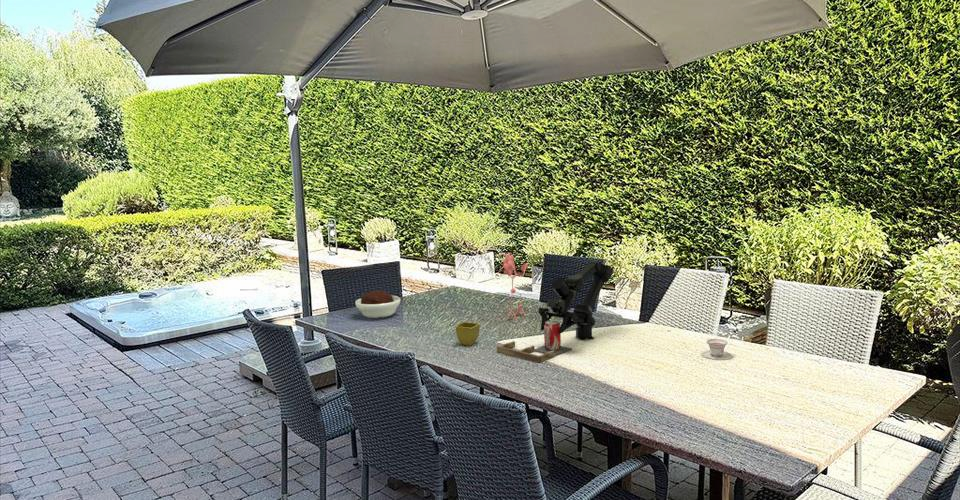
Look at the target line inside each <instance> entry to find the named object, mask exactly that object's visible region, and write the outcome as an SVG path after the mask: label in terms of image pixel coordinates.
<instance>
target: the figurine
mask: <svg viewBox="0 0 960 500" xmlns="http://www.w3.org/2000/svg"><path fill="white" fill-rule="evenodd" d="M502 264H503V266H502V267H501V268H500V270H499V271H498V272H497V273H496V274H495V275H496V276H498V275H499V273H500V272H501V271H502V269H504V271H503V274H504V275H507V277H510V279H511V289H510V292H511V296H513V294H516V293H517V294H519V306H518V307H517V309H516V312H515V313H516V315H519V314H520V312H522V315H523V316H524V317H526V313H524V310H523V305H522V303H521V301H522V299H521V298H522V294H521V292H518V291H517V290H516V288H514V279H515V278H516V277H517V276H519V277H524V275H525V272H526V270H527V269H528V267H529V263H528V262H526V263H525V262H524V264H523V265H521V267H520V268H521V271H522V272H523V274H518V273H517V271H516V265H515V260H514V254H510V252H508V253H505V257H504V258H503V259H502ZM513 272H514V275H513ZM512 275H513V276H512ZM510 305H511V306H510V312H509V314H508V315H507V316H506V317H507V318H506V320H508V319H509V318H510V316H511V313H512V315H513V317H514V319H515V321H517V320H518V319H517V317H516V315H515V313H514V311H513V310H514V308H513V299H511V304H510ZM530 314H531V315H532V312H530ZM501 315H504V313H503V314H500V315H498V317H500V316H501ZM494 319H495V320H496V321H497V319H496V318H494Z"/></svg>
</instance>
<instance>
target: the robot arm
mask: <svg viewBox="0 0 960 500" xmlns="http://www.w3.org/2000/svg"><path fill="white" fill-rule="evenodd" d="M613 274H614V269H613V268H612V266H611V265H607V264H603V263H602V262H599V261H593V260H591V261H589V262H588V264H587V265H586V266H584V267H583V268H582V269H580V271H579V272H578V273H577V274H574V275H569V276H568V277H566V279H565V278H564V277H563V276H558V278H557V279H554V280H553V281H552V282H551V288H552V289H553V291H554V292H555V293H556V295H557V296H559V298H558V299H550V298H548V299H547V303H546V307H543V306H542V307H539V308H538V310H537V313H538V314H539V315H540V317H541V323H540V324H541V325H540V331H542V332H544V325H545V322H546V321H550V320H552V318H553V317H554V318H559V319H562V322H561V324H560V328H559V331H558V334H561V335H562V333H563V332H564V331H566V330H567V329H569V328H571V327H573V326H575V325H576V327H575V338H577V339H579V340H580V341H581V340H582V341H585V340H592V339H594V337H593V327H594V326H595V324H596V319H595V318H594V317H593V307H594V304H595V303H596V300H597V299H598V296H599V294H600V293H601V289H602V288H603V286H604V284H606V283H607V282H608V281H609V280H610V279H611V277H612V276H613ZM592 276H593V280H592V282H591V284H590V286H589V287H588V290H587V292H586V294H585V296H584V298H583V300H582V303H576V304H575V307H574V309H572V308H571V306H572V303H573V301H574V300H575V301H577V300H578V298H577V294H576V293H574V292H580V291H582V289H583V288H584V287H585V283H586V281H587V280H589V279H590V278H591V277H592ZM548 307H549V308H550V309H549V308H548ZM571 310H572V311H571Z"/></svg>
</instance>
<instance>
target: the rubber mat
mask: <svg viewBox="0 0 960 500" xmlns="http://www.w3.org/2000/svg"><path fill="white" fill-rule="evenodd" d="M569 351H573V348H572V347H567V346H562V345H561V347H560V348H559V349H558V350H555V357H557V356H560V355H562V354H564V353H567V352H569ZM547 352H550V350H547V349H546V348H545V345H542V346H540V347H537V348H535V352H534V353H540V354H541V355H542V354H545V353H547Z"/></svg>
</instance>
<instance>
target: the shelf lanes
mask: <svg viewBox="0 0 960 500" xmlns="http://www.w3.org/2000/svg"><path fill="white" fill-rule="evenodd" d="M514 348H516V341H513V340H512V341H509V342H507V343H504V344H500V345H498V346H496V353H497V354H498V353H499V354H502V355H505V356H511V357H514V358H519V359H522V360H527V361H530V362H534V363H537V364H541V363H543V362H545V361H547V360H550V359H552V358H555V357H556V356H555V351H554V350H552V351H550V352H547V353H545V354H542V353H541V354H540V355H537V354H533V353H536V352H535V349H536V348H535V345H530V346H527V347H525V348H522V349H518V350H516V349H514Z"/></svg>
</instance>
